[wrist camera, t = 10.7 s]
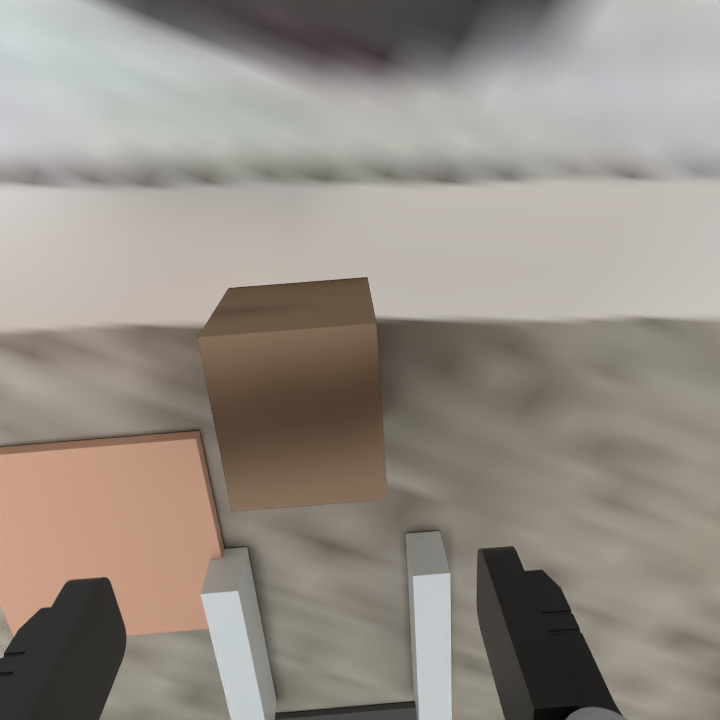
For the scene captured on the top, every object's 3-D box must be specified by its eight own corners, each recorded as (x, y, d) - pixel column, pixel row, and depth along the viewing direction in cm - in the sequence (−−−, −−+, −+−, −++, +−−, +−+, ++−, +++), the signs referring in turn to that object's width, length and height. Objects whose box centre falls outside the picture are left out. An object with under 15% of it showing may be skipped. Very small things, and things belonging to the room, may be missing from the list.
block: (376, 422, 23) (387, 499, 18) (252, 432, 23) (231, 511, 18) (367, 276, 20) (376, 323, 16) (228, 287, 20) (197, 337, 16)
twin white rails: (442, 686, 29) (451, 735, 27) (247, 703, 29) (239, 753, 26) (439, 530, 25) (450, 572, 23) (212, 549, 25) (200, 594, 22)
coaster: (238, 615, 26) (236, 626, 26) (24, 634, 26) (17, 645, 26) (199, 430, 22) (195, 438, 22) (-54, 451, 22) (-64, 460, 22)
